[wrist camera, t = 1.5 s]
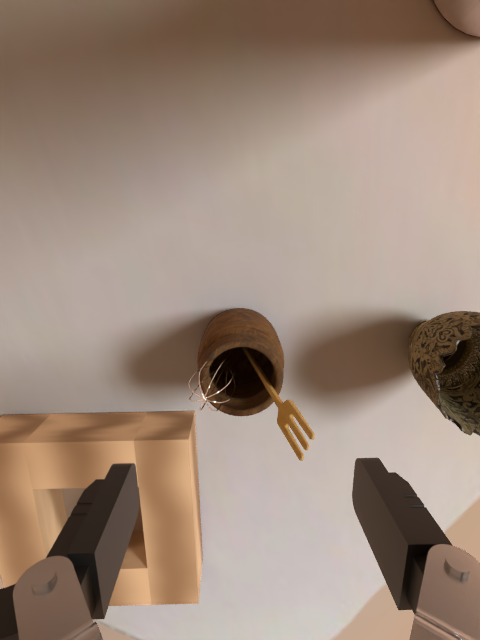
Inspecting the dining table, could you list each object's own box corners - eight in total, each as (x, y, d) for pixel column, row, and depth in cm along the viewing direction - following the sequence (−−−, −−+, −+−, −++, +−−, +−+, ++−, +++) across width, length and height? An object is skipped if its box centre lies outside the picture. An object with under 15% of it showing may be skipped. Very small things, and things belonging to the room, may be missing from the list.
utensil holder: (217, 294, 26) (203, 348, 15) (292, 322, 27) (336, 396, 15) (191, 361, 28) (161, 459, 16) (263, 386, 28) (284, 497, 17)
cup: (493, 332, 27) (595, 373, 20) (426, 397, 29) (496, 460, 21) (430, 274, 26) (512, 294, 18) (362, 346, 27) (413, 392, 20)
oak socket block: (194, 410, 29) (188, 439, 25) (202, 559, 33) (198, 603, 29) (2, 414, 29) (-34, 444, 25) (35, 563, 33) (9, 608, 29)
